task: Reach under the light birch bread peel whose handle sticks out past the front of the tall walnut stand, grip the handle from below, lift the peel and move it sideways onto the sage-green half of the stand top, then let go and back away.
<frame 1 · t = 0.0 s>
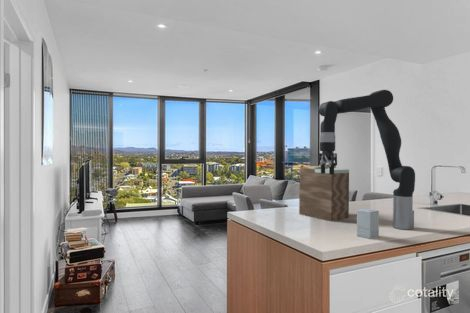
hand: (327, 173, 162), 29 cm above the worktop, tool pointing down, fingers open, 8 cm apart
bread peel: (314, 168, 209), point 30 cm above the worktop, touching walnut stand
walnut stand: (323, 216, 204), on the worktop
supplement box: (367, 236, 154), on the worktop
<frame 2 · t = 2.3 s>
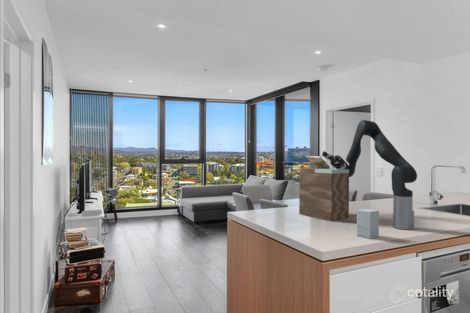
hand: (329, 155, 192), 39 cm above the worktop, tool pointing upward, fingers open, 8 cm apart
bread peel: (317, 162, 212), point 34 cm above the worktop, tilted 35°, touching walnut stand
everything else where it was.
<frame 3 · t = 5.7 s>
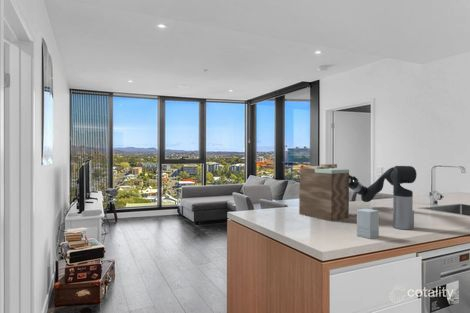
hand: (341, 174, 223), 26 cm above the worktop, tool pointing upward, fingers open, 8 cm apart
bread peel: (316, 168, 211), point 30 cm above the worktop, touching walnut stand
everything else where it was.
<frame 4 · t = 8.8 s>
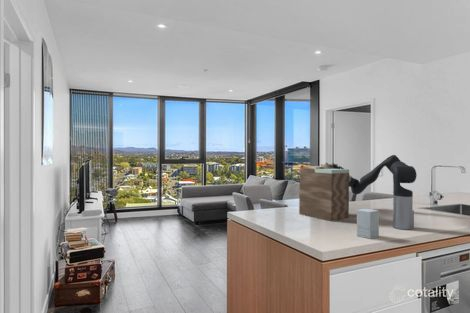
hand: (329, 164, 216), 33 cm above the worktop, tool pointing upward, fingers open, 5 cm apart
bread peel: (316, 168, 211), point 30 cm above the worktop, touching gripper, walnut stand
everything else where it was.
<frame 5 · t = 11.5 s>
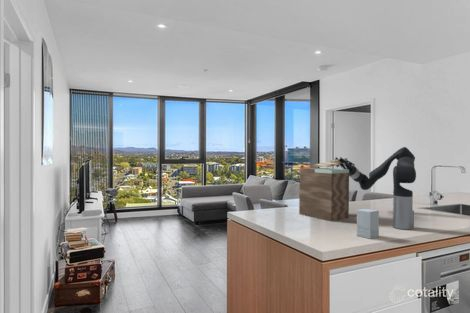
hand: (337, 158, 210), 37 cm above the worktop, tool pointing upward, fingers closed on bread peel, 3 cm apart
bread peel: (326, 165, 204), point 32 cm above the worktop, tilted 7°, touching gripper
everything else where it was.
when the fingers open (34 cm above the worktop, at t = 13.6 s): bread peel stays where it is, resting on walnut stand.
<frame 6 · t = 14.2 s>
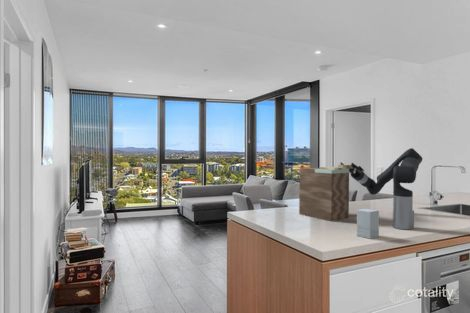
hand: (345, 163, 206), 33 cm above the worktop, tool pointing upward, fingers open, 8 cm apart
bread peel: (333, 169, 199), point 30 cm above the worktop, touching walnut stand
everything else where it was.
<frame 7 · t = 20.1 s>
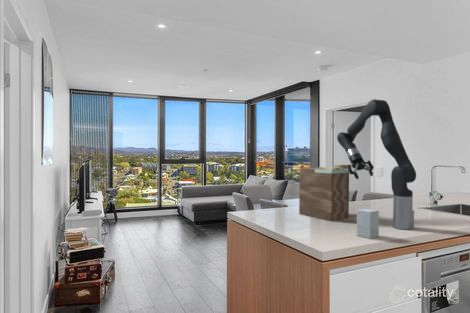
hand: (365, 176, 193), 26 cm above the worktop, tool tilted 40°, fingers open, 8 cm apart
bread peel: (330, 169, 199), point 30 cm above the worktop, touching walnut stand
everything else where it was.
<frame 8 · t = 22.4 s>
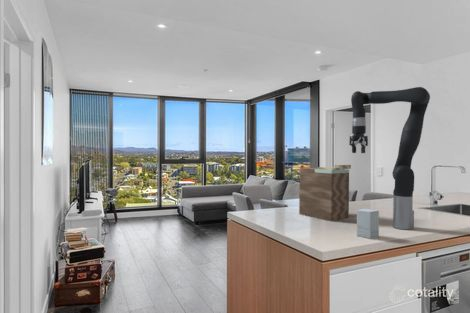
hand: (358, 153, 191), 40 cm above the worktop, tool pointing down, fingers open, 8 cm apart
nothing on the worktop moved.
at the end: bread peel inside the target area on the walnut stand (0.7 cm from its centre), point 30.0 cm above the walnut stand's base; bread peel tilted 0°; the gripper is holding nothing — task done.
